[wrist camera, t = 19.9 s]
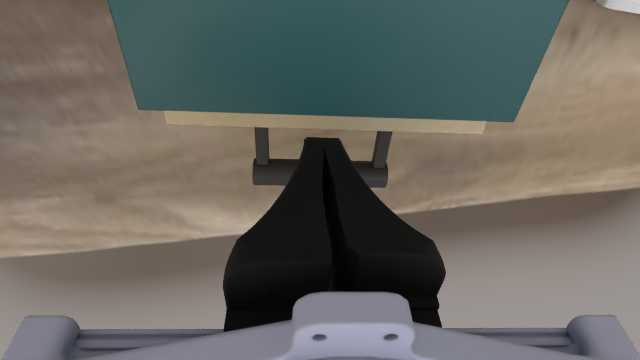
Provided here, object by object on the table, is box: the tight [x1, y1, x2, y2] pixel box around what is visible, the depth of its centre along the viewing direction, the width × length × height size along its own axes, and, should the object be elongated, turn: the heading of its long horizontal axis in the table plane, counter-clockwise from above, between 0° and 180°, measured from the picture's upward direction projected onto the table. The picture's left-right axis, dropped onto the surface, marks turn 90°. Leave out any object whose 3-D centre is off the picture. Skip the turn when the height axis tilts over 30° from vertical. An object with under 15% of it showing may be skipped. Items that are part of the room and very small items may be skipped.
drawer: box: [164, 111, 487, 188], centre depth 17 cm, size 18×13×6 cm
